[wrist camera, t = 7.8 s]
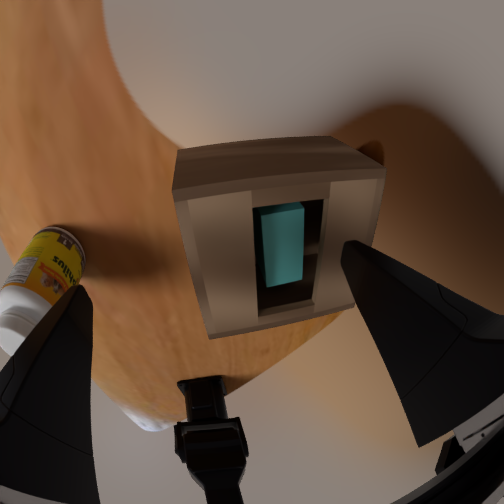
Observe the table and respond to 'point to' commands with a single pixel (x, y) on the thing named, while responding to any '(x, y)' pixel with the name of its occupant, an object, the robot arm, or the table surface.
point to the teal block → (279, 242)
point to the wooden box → (241, 225)
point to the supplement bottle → (38, 283)
